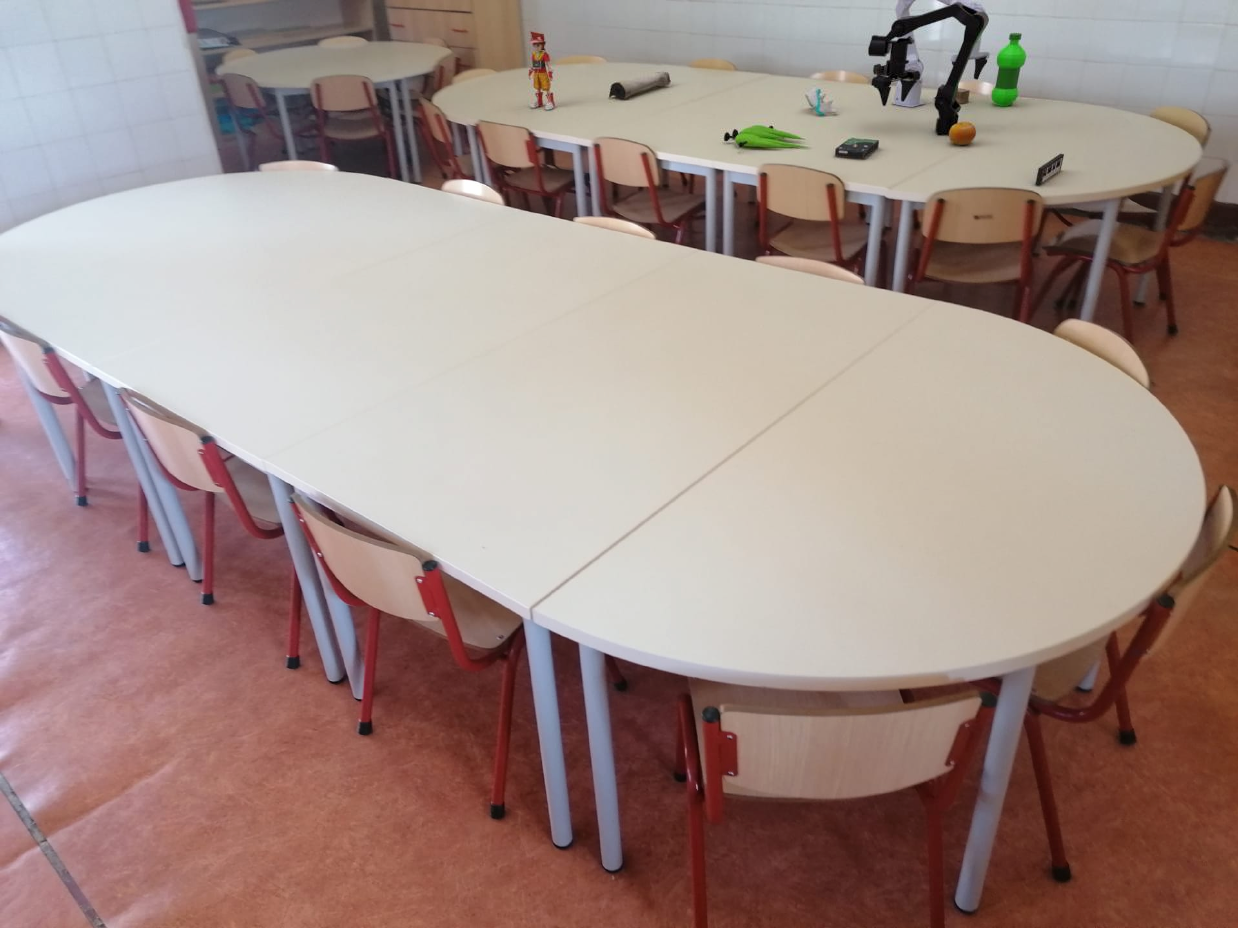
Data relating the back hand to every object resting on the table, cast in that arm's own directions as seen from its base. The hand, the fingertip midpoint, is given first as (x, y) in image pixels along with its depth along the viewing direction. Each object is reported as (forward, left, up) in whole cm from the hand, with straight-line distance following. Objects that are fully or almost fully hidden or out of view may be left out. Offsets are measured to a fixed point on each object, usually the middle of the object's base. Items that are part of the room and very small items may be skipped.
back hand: (966, 80), depth 344 cm
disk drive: (+11, -75, -10) cm, 77 cm away
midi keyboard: (+71, -58, -10) cm, 92 cm away
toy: (-130, -111, -10) cm, 171 cm away
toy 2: (-19, -87, -10) cm, 90 cm away
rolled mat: (-118, -66, -10) cm, 136 cm away
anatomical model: (-36, -42, -10) cm, 56 cm away
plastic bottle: (+11, +11, -10) cm, 18 cm away
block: (-5, +5, -10) cm, 12 cm away
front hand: (-1, -43, -1) cm, 43 cm away
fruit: (+30, -44, -10) cm, 54 cm away
